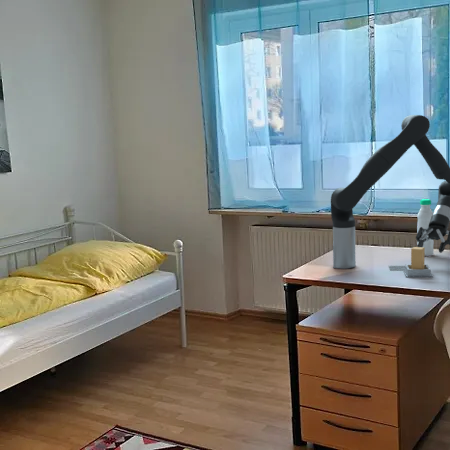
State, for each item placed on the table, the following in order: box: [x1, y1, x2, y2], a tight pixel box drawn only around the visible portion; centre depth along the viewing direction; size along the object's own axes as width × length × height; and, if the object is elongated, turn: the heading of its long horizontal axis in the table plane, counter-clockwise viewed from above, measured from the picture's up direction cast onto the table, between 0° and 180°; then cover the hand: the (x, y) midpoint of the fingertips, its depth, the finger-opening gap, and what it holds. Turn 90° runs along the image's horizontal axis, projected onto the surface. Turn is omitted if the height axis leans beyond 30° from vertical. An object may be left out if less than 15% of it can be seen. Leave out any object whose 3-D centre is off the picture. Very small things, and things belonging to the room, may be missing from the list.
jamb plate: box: [388, 265, 405, 272], centre depth 263 cm, size 12×9×1 cm
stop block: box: [410, 246, 426, 269], centre depth 251 cm, size 4×4×10 cm
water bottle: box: [416, 198, 435, 257], centre depth 288 cm, size 7×7×25 cm
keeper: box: [402, 264, 434, 278], centre depth 252 cm, size 10×10×3 cm
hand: (429, 250), depth 260 cm, fingers open, 8 cm apart
